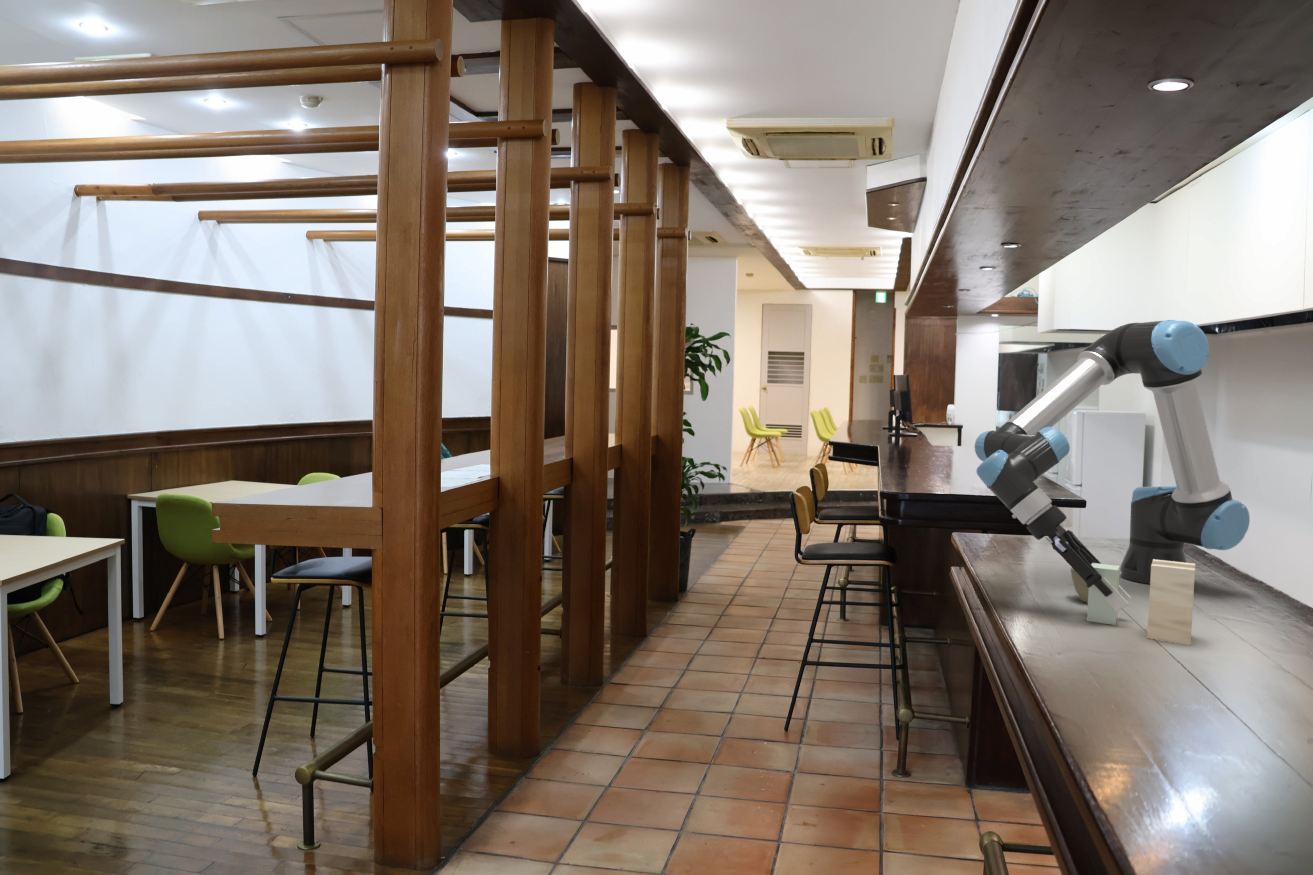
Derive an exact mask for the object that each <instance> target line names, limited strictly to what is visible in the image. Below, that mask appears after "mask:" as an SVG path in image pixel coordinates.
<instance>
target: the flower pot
mask: <svg viewBox="0 0 1313 875" xmlns="http://www.w3.org/2000/svg"><path fill="white" fill-rule="evenodd" d="M1070 572H1071V573H1070V575H1071V579H1072V583H1073V586H1074V589H1075V590H1076V593H1077V596H1078V597H1079V598H1080V600H1081V601H1082V602H1084V603H1086V604H1088V591H1089V588H1088V587H1087V586H1086V585H1087V583H1086V582H1085V581H1084V580H1083V579H1082V578H1081V576H1080V575H1079V574H1078V573H1077V572H1076V571H1075V570H1074V569H1073V568H1072V567H1071V566H1070ZM1121 574H1122V573H1121V572H1119V583H1120V582H1121Z"/></svg>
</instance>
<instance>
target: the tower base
mask: <svg viewBox="0 0 1313 875" xmlns="http://www.w3.org/2000/svg"><path fill="white" fill-rule="evenodd" d="M1193 609H1194V607H1193V608H1190V607H1182V606H1175V605H1167V604H1159V603H1151V602H1149V601H1148V616H1147V635H1146V639H1147V638H1150V639H1149V640H1152V639H1157V640H1156V641H1159V640H1161V642H1165V641H1168V642H1167V643H1172V642H1174V643H1173V644H1179V643H1180V644H1181V645H1185V644H1187V645H1188V646H1191V645H1192V644H1191V643H1192V629H1193V628H1192V627H1193V626H1192V625H1193V612H1194V611H1193ZM1187 645H1186V646H1187Z"/></svg>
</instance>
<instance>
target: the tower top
mask: <svg viewBox="0 0 1313 875" xmlns="http://www.w3.org/2000/svg"><path fill="white" fill-rule="evenodd" d="M1195 574H1196V563H1191V562H1187V563H1184V562H1175V561H1165V560H1156V559H1153V561H1152V564H1151V578H1150V584H1149V596H1148V597H1149V599H1148V603H1149V602H1151V603H1159V604H1167V605H1175V606H1182V607H1190V608H1193V609H1194V594H1195V593H1194V591H1195V576H1196V575H1195Z"/></svg>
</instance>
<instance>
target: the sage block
mask: <svg viewBox="0 0 1313 875" xmlns="http://www.w3.org/2000/svg"><path fill="white" fill-rule="evenodd" d="M1091 565H1092V566H1093V567H1094V569H1095V570H1096V571H1097V572H1098V573H1099V574H1100V575H1101V577H1102V578H1103V577H1104V578H1105V579H1106V580H1107V581H1108V582H1109V583H1110V584H1111V585H1112V586H1113V587H1114V588H1115V589H1116V590H1117V591H1119V585H1120V582H1119V572H1120V566H1121V565H1115V564H1106V563H1101V564H1098V563H1092V564H1091ZM1086 611H1087V614H1086V616H1087V617H1086V621H1087V622H1091V623H1092V622H1093V623H1098V624H1107V625H1113V626H1115V625H1116V623H1117V620H1118V612H1117V611H1116V610H1115V609H1114V608H1113V607H1112V606H1111V605H1110V604H1109V603H1108V602H1107V601H1106V600H1105V599H1104V598H1103V597H1102V596H1101V594H1100V593H1099V592H1098V591H1097V590H1096V589H1095V588H1094V587H1093V586H1091V587H1090V588H1089V591H1088V603H1087V610H1086Z"/></svg>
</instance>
